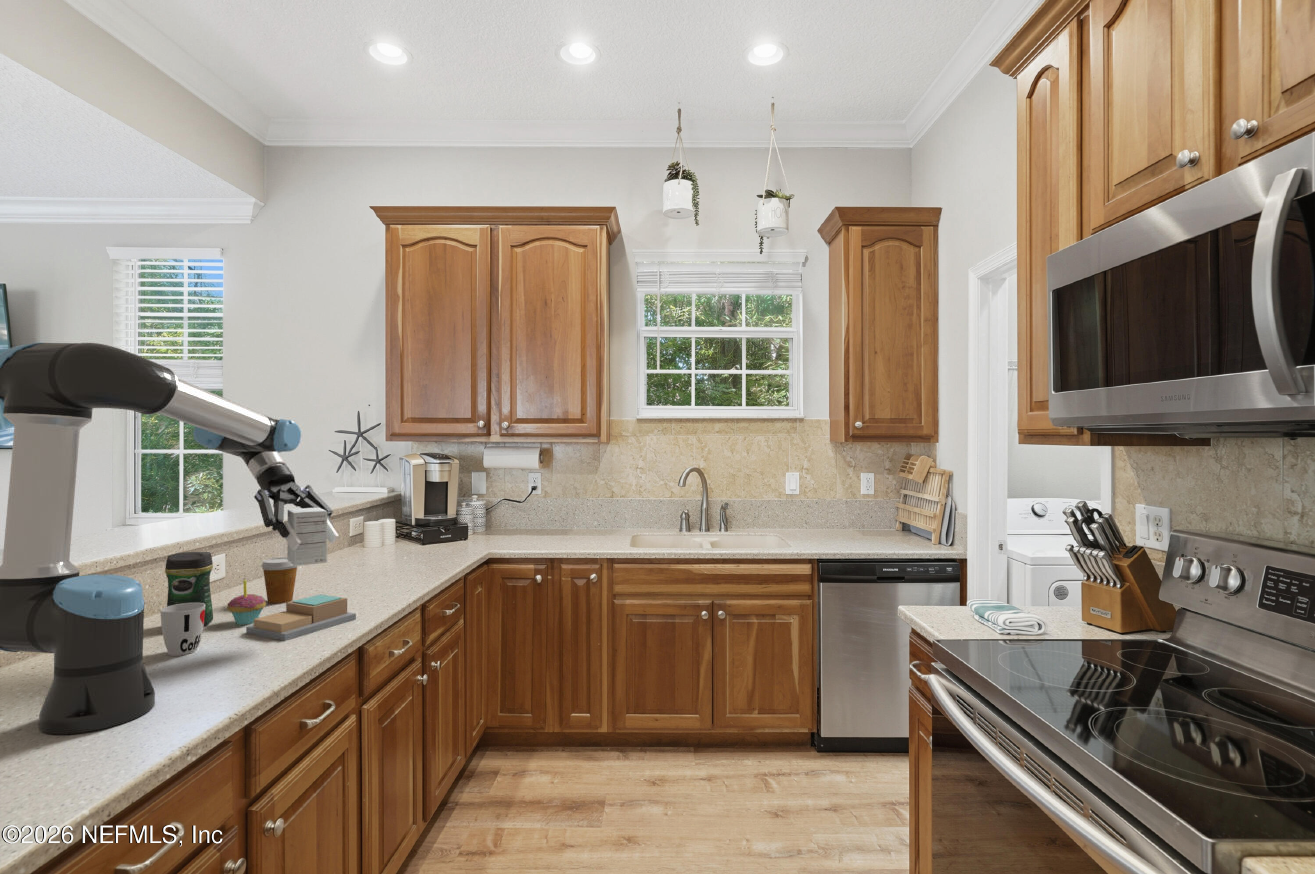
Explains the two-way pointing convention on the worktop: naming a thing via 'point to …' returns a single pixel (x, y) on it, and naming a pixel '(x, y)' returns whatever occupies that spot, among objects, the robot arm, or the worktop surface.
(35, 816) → the worktop surface
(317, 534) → the supplement box
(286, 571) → the disposable coffee cup
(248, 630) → the build base
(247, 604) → the cupcake
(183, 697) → the worktop surface
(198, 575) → the coffee jar
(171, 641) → the cup
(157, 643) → the worktop surface
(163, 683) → the worktop surface
